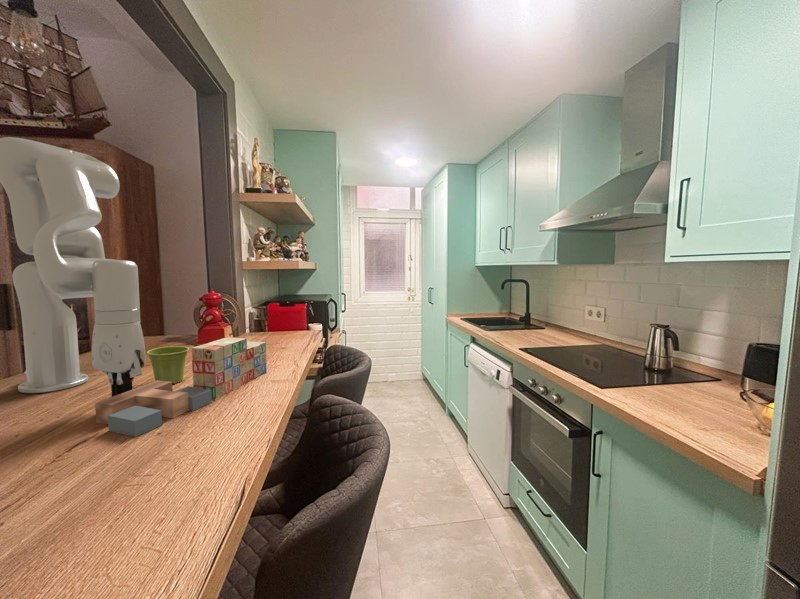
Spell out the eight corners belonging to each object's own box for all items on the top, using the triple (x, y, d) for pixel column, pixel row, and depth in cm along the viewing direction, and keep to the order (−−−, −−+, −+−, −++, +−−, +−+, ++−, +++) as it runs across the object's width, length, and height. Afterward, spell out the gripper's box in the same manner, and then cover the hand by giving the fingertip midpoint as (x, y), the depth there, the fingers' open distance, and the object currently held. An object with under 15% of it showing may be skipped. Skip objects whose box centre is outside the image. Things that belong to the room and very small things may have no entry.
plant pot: (177, 374, 98) (176, 344, 97) (197, 379, 94) (196, 348, 93) (140, 383, 90) (139, 351, 89) (160, 389, 86) (158, 356, 85)
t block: (96, 422, 67) (94, 402, 67) (158, 396, 81) (157, 380, 81) (151, 429, 65) (150, 409, 65) (206, 401, 79) (205, 384, 78)
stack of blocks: (248, 371, 103) (247, 330, 102) (267, 372, 102) (266, 332, 100) (193, 397, 82) (191, 346, 81) (216, 399, 81) (214, 348, 79)
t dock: (108, 430, 64) (107, 415, 64) (188, 398, 80) (187, 386, 80) (135, 436, 62) (134, 421, 62) (211, 402, 78) (211, 389, 78)
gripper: (73, 317, 72) (79, 401, 73) (124, 322, 67) (129, 412, 69) (112, 313, 79) (116, 390, 80) (161, 317, 74) (164, 398, 76)
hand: (122, 399), depth 75 cm, fingers closed
